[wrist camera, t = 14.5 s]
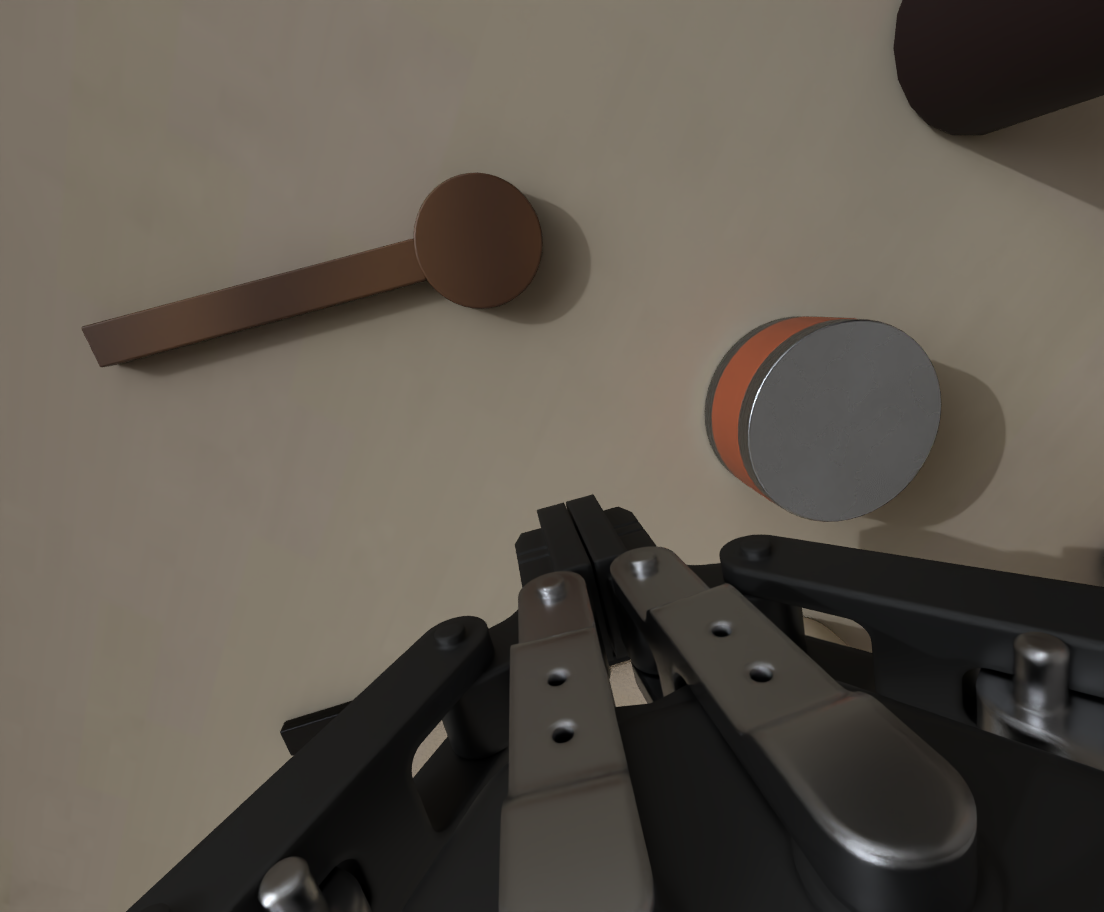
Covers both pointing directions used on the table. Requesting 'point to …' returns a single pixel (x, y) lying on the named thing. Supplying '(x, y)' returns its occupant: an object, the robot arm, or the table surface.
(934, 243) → the table surface
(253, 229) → the table surface
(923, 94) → the vinegar
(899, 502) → the table surface
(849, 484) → the tin can
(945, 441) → the table surface
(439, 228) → the spoon
